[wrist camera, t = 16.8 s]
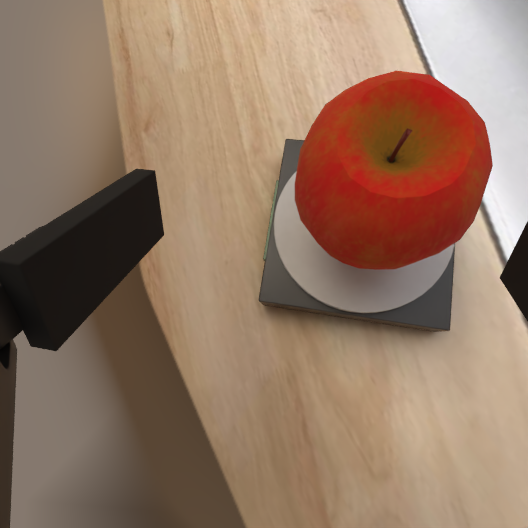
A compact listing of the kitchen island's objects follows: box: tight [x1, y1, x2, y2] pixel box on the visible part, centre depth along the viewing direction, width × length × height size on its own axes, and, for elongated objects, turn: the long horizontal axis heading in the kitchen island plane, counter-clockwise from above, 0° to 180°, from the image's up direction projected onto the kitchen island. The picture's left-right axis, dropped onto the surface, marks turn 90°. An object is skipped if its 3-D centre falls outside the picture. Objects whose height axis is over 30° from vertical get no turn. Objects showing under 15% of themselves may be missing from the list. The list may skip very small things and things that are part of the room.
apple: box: [295, 71, 493, 270], centre depth 17 cm, size 9×8×11 cm
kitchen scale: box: [259, 139, 455, 332], centre depth 24 cm, size 12×12×3 cm
